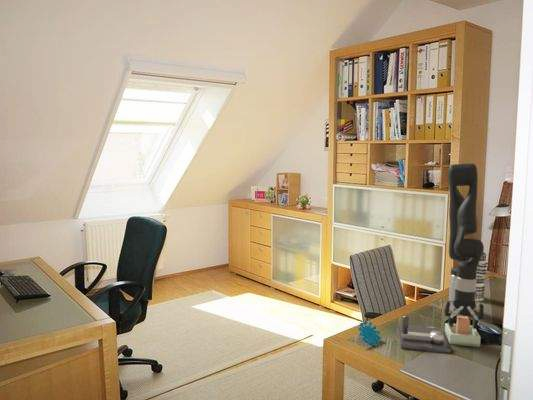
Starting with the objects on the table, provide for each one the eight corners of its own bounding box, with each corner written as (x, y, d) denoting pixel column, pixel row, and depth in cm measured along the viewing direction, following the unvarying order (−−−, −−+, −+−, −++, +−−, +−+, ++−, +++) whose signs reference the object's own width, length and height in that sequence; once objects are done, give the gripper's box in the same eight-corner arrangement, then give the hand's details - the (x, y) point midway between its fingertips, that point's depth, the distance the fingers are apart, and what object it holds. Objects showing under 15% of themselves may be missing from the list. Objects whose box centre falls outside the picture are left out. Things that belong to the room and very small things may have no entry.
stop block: (455, 334, 180) (457, 315, 179) (466, 335, 179) (467, 316, 178) (457, 338, 176) (459, 319, 175) (468, 339, 175) (470, 320, 174)
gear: (365, 345, 167) (356, 320, 173) (357, 351, 171) (348, 327, 177) (387, 343, 172) (377, 319, 178) (378, 349, 176) (369, 325, 182)
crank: (442, 338, 174) (443, 317, 172) (444, 344, 169) (446, 322, 168) (401, 334, 177) (402, 313, 175) (402, 340, 172) (403, 318, 171)
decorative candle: (481, 302, 220) (485, 253, 217) (462, 298, 226) (466, 250, 223) (486, 298, 227) (490, 250, 224) (468, 293, 233) (471, 247, 230)
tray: (444, 332, 184) (445, 323, 183) (472, 334, 182) (473, 325, 181) (449, 343, 173) (450, 334, 173) (479, 346, 171) (480, 336, 170)
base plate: (396, 327, 188) (396, 323, 188) (440, 331, 185) (440, 327, 184) (400, 348, 169) (400, 344, 169) (450, 353, 165) (450, 349, 165)
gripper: (482, 286, 177) (479, 325, 179) (444, 283, 180) (442, 321, 182) (487, 292, 170) (484, 332, 172) (448, 289, 172) (445, 329, 175)
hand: (462, 327), depth 177 cm, fingers open, 8 cm apart
